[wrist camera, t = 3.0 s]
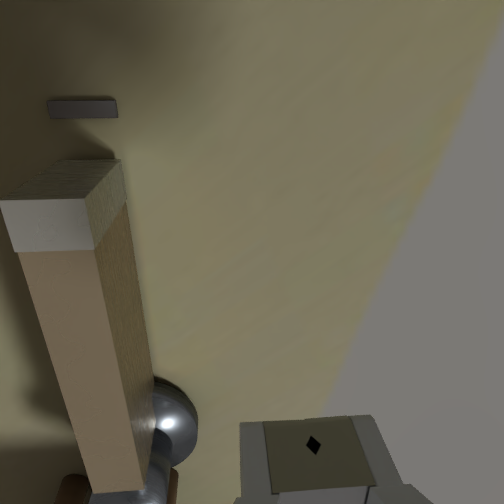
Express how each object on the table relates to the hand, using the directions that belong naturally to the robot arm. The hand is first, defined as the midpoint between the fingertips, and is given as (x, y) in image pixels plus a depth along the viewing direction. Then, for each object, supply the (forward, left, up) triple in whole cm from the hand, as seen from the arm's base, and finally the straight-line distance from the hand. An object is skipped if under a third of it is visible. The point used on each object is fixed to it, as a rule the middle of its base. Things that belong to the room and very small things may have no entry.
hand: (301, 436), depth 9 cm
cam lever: (+5, -7, -9) cm, 12 cm away
